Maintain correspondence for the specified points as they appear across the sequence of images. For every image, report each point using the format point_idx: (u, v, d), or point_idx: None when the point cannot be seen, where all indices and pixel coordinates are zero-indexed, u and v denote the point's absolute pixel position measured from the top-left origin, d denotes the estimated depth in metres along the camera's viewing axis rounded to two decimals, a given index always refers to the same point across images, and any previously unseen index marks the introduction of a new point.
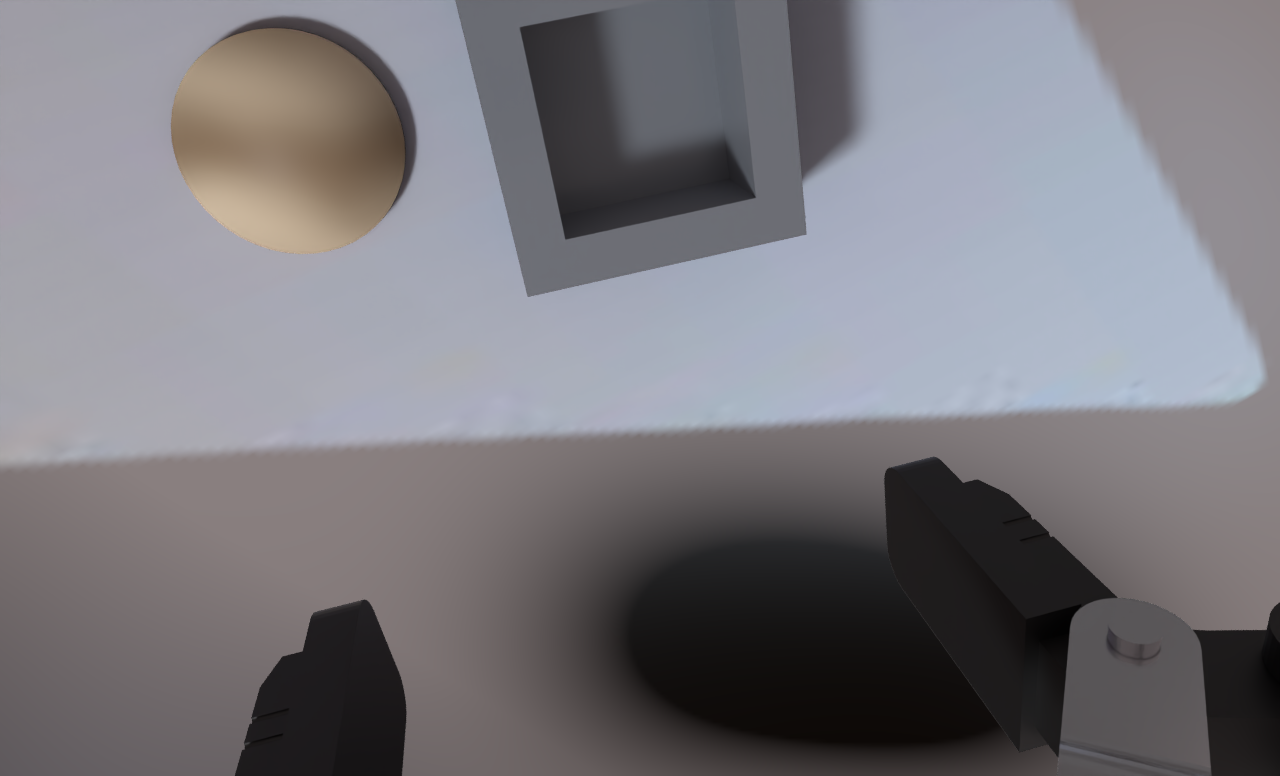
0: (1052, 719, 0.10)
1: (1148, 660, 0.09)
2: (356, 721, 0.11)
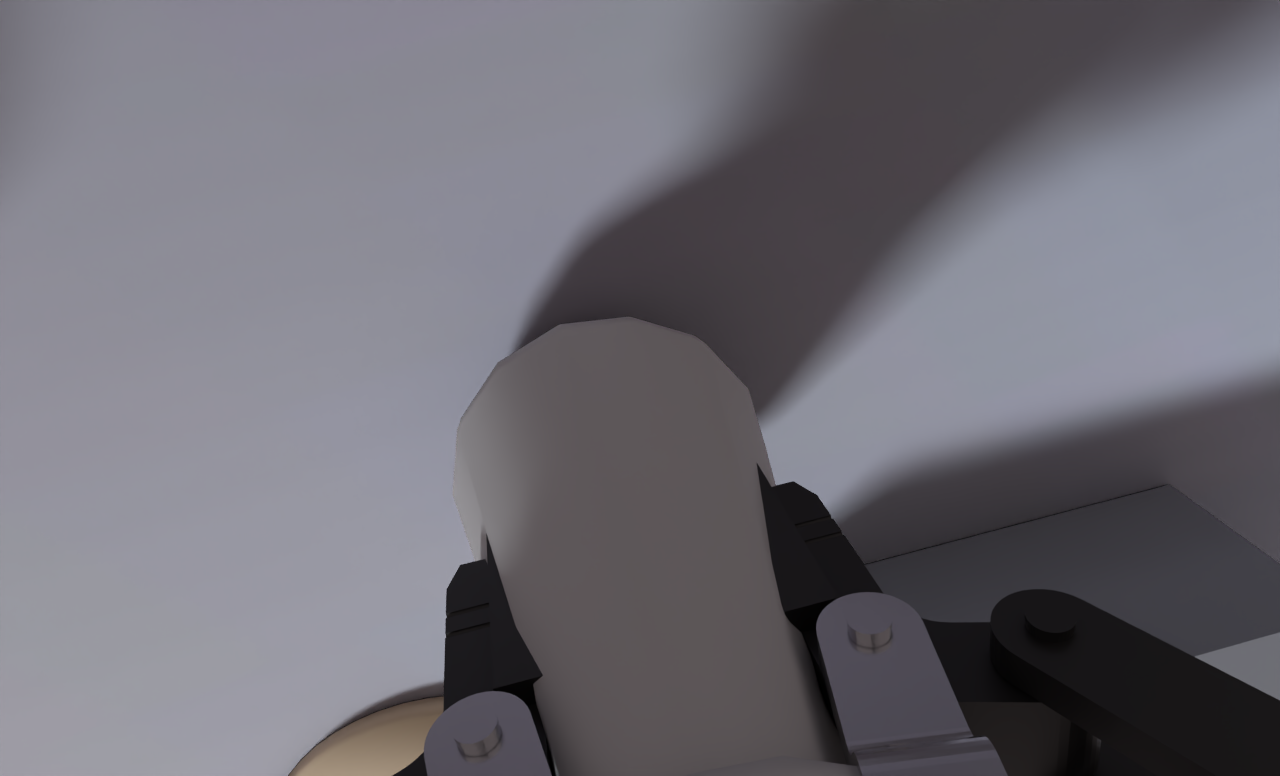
0: None
1: (874, 649, 0.09)
2: None
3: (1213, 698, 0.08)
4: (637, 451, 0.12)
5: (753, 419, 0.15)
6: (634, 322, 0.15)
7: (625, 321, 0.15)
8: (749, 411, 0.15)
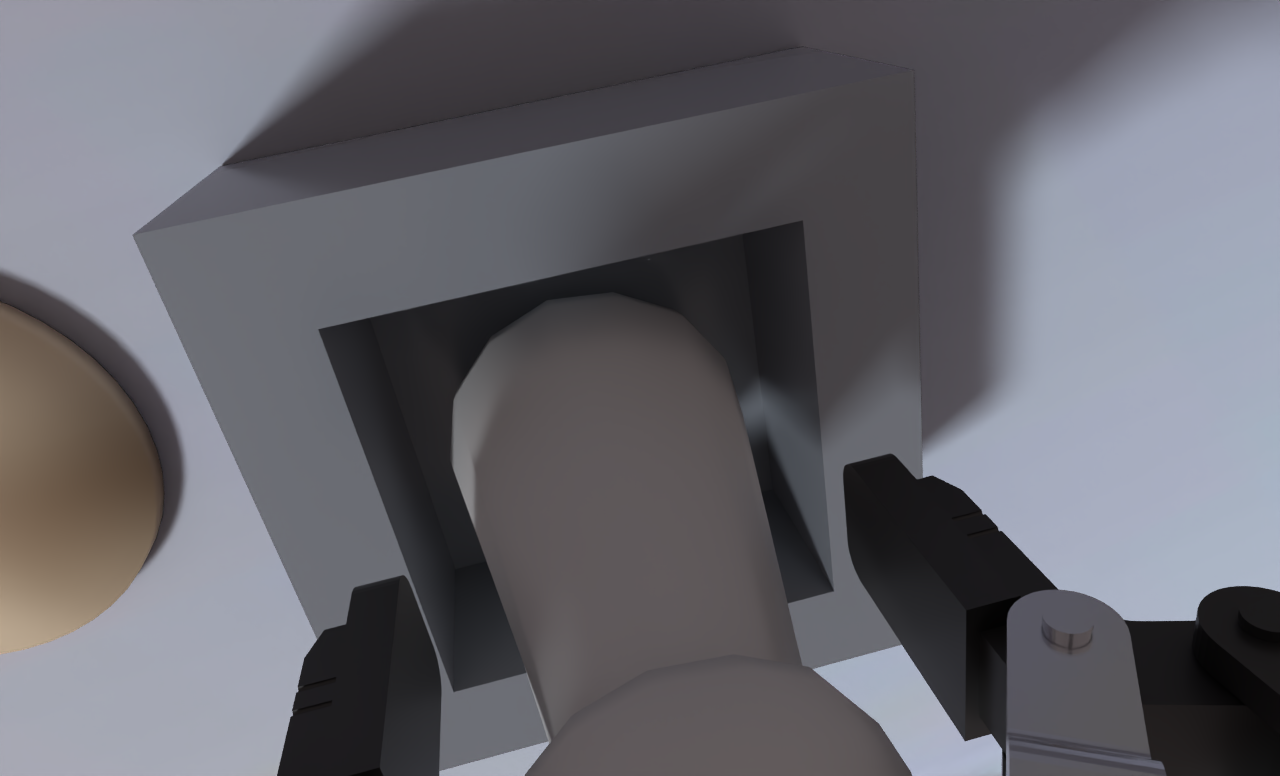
0: (994, 708, 0.10)
1: (1079, 649, 0.09)
2: (401, 689, 0.11)
3: None
4: (616, 410, 0.13)
5: (728, 385, 0.16)
6: (617, 297, 0.16)
7: (608, 296, 0.16)
8: (725, 378, 0.16)
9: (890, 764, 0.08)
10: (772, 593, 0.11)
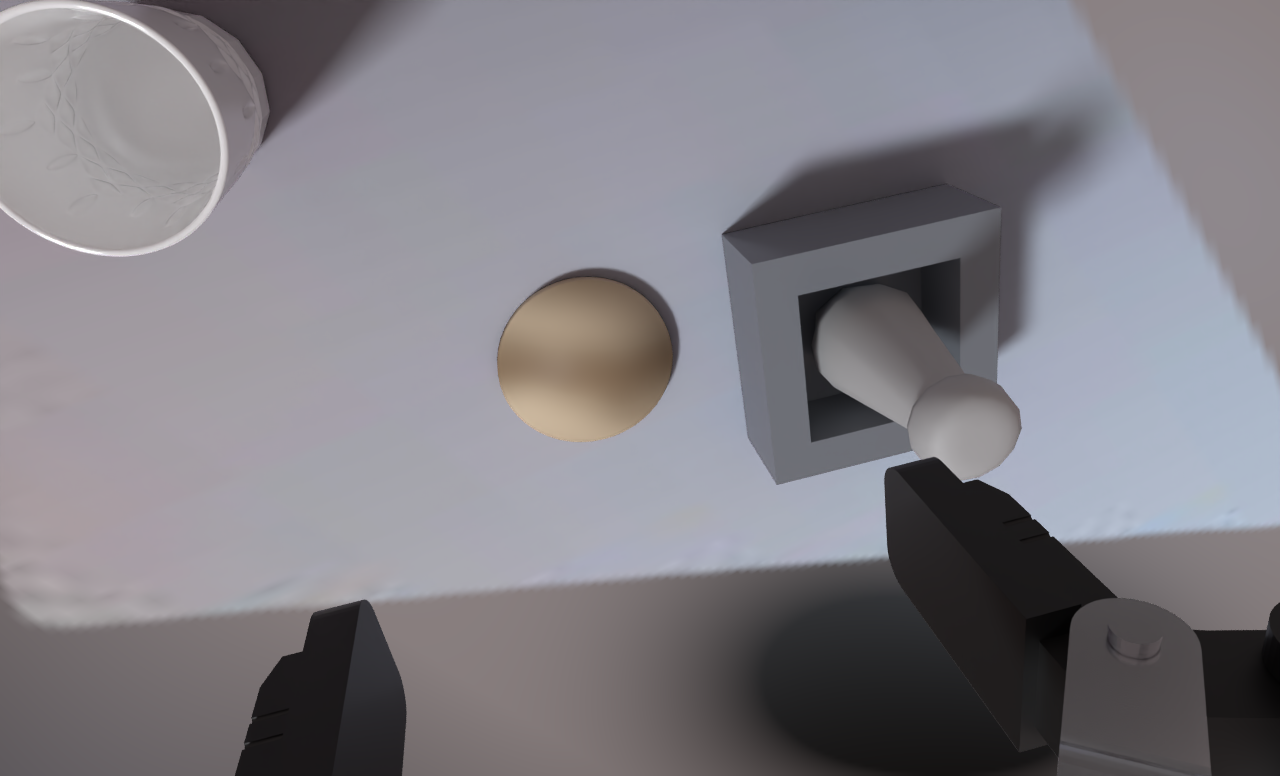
0: (1052, 719, 0.10)
1: (1148, 660, 0.09)
2: (356, 721, 0.11)
3: None
4: (902, 322, 0.39)
5: (926, 319, 0.42)
6: (883, 285, 0.42)
7: (879, 285, 0.42)
8: (924, 316, 0.42)
9: None
10: None
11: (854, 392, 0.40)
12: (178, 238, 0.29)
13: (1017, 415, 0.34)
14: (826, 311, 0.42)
